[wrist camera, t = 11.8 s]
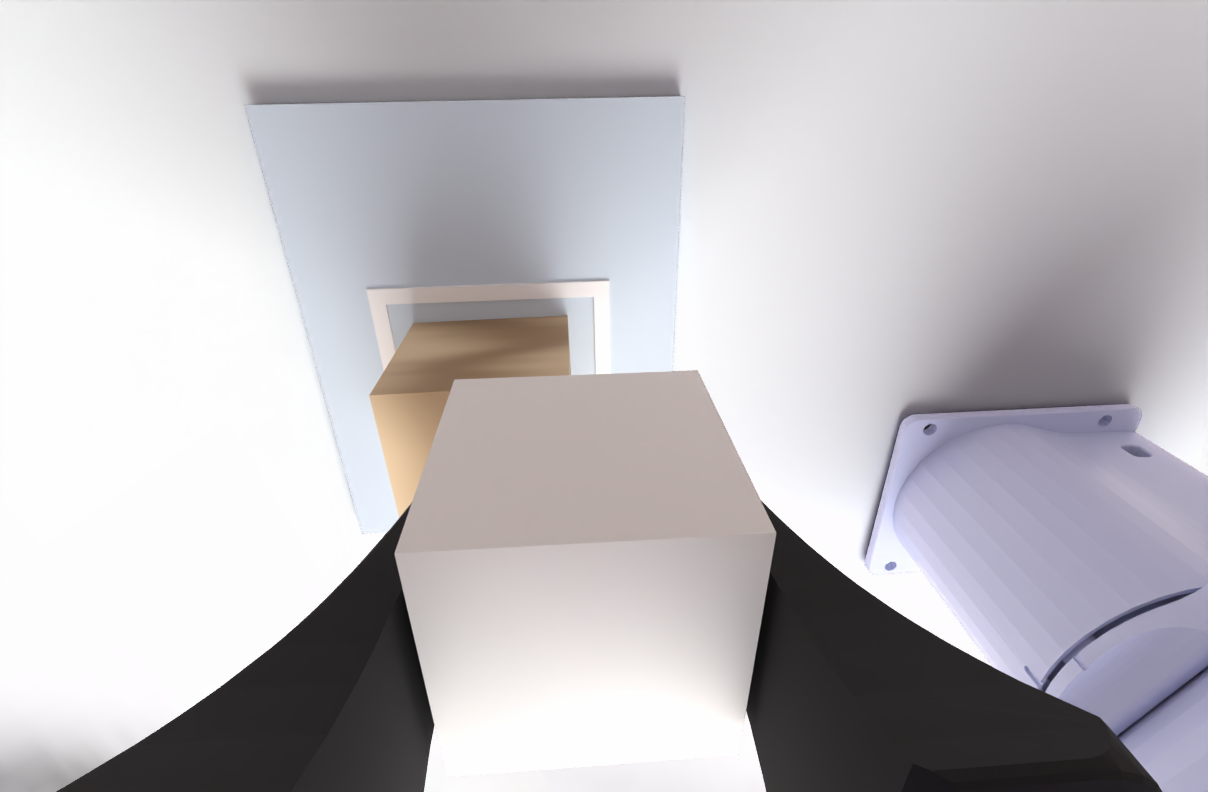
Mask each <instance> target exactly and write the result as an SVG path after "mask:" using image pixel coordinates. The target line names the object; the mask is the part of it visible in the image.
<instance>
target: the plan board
mask: <svg viewBox="0 0 1208 792" xmlns="http://www.w3.org/2000/svg"><path fill="white" fill-rule="evenodd" d="M244 106H245V110H246V114H247V117H248V121H249V125H250V128H251V132H252V135H253V139H254V143H255V146H256V150H257V154H258V157H259V161H260V165H261V168H262V172H263V176H264V179H265V183H266V186H267V190H268V194H269V197H270V201H271V205H272V208H273V212H274V216H275V219H276V223H277V226H278V230H279V234H280V237H281V241H282V245H283V248H284V252H285V256H286V259H287V263H288V267H289V270H290V274H291V277H292V281H293V285H294V288H295V292H296V296H297V299H298V303H299V307H300V310H301V314H302V317H303V321H304V325H305V328H306V332H307V336H308V339H309V343H310V347H311V350H312V354H313V358H314V361H315V365H316V368H317V372H318V376H319V379H320V383H321V387H322V390H323V394H324V398H325V401H326V405H327V408H328V412H329V416H330V419H331V423H332V427H333V430H334V434H335V438H336V441H337V445H338V449H339V452H340V456H341V459H342V463H343V467H344V470H345V474H346V478H347V481H348V485H349V489H350V492H351V496H352V499H353V503H354V507H355V510H356V514H357V518H358V521H359V525H360V529H361V532H362V534H365V533H383V532H388V531H389V530H390V528H391V527H392V526H393V525H394V524H395V522H396V521H397V520H398V519H399V515H398V511H397V507H396V503H395V498H394V494H393V490H392V486H391V482H390V478H389V474H388V470H387V466H386V462H385V458H384V454H383V450H382V446H381V441H380V437H379V433H378V429H377V425H376V421H375V417H374V413H373V409H372V405H371V401H370V397H369V395H370V393H371V392H372V390H373V388H374V387H375V385H376V383H377V382H378V380H379V379H380V377H381V375H382V374H383V372H384V370H385V369H386V367H387V365H388V364H389V362H390V360H391V359H392V357H393V356H394V354H395V352H396V351H397V349H398V347H399V346H400V344H401V342H402V341H403V339H404V337H405V336H406V334H407V333H408V331H409V329H410V328H411V326H412V324H413V323H423V322H443V321H464V320H485V319H505V318H526V317H546V316H567V315H568V331H569V347H570V364H571V375H588V374H614V373H641V372H668V371H673V361H674V338H675V315H676V292H677V269H678V246H679V223H680V200H681V177H682V154H683V131H684V108H685V96H658V97H608V98H558V99H509V100H459V101H409V102H359V103H310V104H260V105H244Z"/></svg>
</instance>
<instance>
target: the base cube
mask: <svg viewBox="0 0 1208 792" xmlns="http://www.w3.org/2000/svg"><path fill="white" fill-rule="evenodd" d="M561 375H571V364H570V347H569V331H568V315H567V316H546V317H526V318H505V319H485V320H464V321H443V322H423V323H413V324H412V326H411V328H410V329H409V331H408V333H407V334H406V336H405V337H404V339H403V341H402V342H401V344H400V346H399V347H398V349H397V351H396V352H395V354H394V356H393V357H392V359H391V360H390V362H389V364H388V365H387V367H386V369H385V370H384V372H383V374H382V375H381V377H380V379H379V380H378V382H377V383H376V385H375V387H374V388H373V390H372V392H371V393H370V395H369V397H370V401H371V405H372V409H373V413H374V417H375V421H376V425H377V429H378V433H379V437H380V441H381V446H382V450H383V454H384V458H385V462H386V466H387V470H388V474H389V478H390V482H391V486H392V490H393V494H394V498H395V503H396V507H397V511H398V515H399V518H400V516H401V515H402V514H403V513H404V511H405V510H406V509H407V508H408V507H409V505H410V504H411V503H412V501H413V498H414V495H415V492H416V489H417V487H418V484H419V481H420V478H421V475H422V472H423V469H424V466H425V463H426V460H427V458H428V455H429V452H430V449H431V446H432V443H433V440H434V437H435V434H436V431H437V429H438V426H439V423H440V420H441V417H442V414H443V411H444V408H445V405H446V402H447V399H448V397H449V394H450V391H451V388H452V385H453V382H454V379H481V378H508V377H534V376H561Z"/></svg>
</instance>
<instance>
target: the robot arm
mask: <svg viewBox="0 0 1208 792" xmlns="http://www.w3.org/2000/svg"><path fill="white" fill-rule="evenodd" d="M1141 417H1142V412H1141V410H1140V409H1138V408H1137V407H1135V406H1133V405H1131V404H1118V405H1097V406H1077V407H1056V408H1036V409H1015V410H995V411H975V412H954V413H934V414H915V415H910V416H909V417H907V418H905V419H904V420H903V421H902V423H901V425H900V428H899V432H898V435H897V439H896V443H895V447H894V451H893V455H892V459H891V462H890V466H889V470H888V474H887V478H886V482H885V486H884V489H883V493H882V497H881V501H880V505H879V509H878V513H877V516H876V520H875V524H874V528H873V532H872V536H871V540H870V543H869V547H868V551H867V555H866V559H865V566H866V568H867V569H868V571H869V572H870V573H871V574H877V575H878V574H894V573H909V572H922V573H923V574H924V575H925V577H926V578H927V579H928V581H929V582H930V583H931V585H932V586H933V587H934V589H935V590H936V591H937V593H938V594H939V595H940V597H941V598H942V600H943V601H944V602H945V604H946V605H947V606H948V608H949V609H950V610H951V612H952V613H953V614H954V616H955V617H956V618H957V620H958V621H959V623H960V624H961V625H962V627H963V628H964V629H965V631H966V632H967V633H968V635H969V636H970V637H971V639H972V640H973V641H974V643H975V644H976V646H977V647H978V648H979V650H980V651H981V652H982V654H983V655H984V656H985V658H986V659H987V660H988V662H989V663H990V664H991V666H990V665H988V664H986V663H984V662H982V661H980V660H978V659H976V658H974V657H972V656H971V655H969V654H967V653H965V652H963V651H962V650H960V649H958V648H956V647H954V646H953V645H951V644H949V643H947V642H945V641H944V640H942V639H940V638H939V637H937V636H935V635H934V634H932V633H930V632H929V631H927V630H925V629H924V628H922V627H920V626H919V625H917V624H915V623H914V622H912V621H910V620H909V619H907V618H906V617H904V616H903V615H901V614H900V613H898V612H896V611H895V610H893V609H892V608H890V607H889V606H887V605H886V604H884V603H883V602H882V601H880V600H879V599H877V598H876V597H875V596H873V595H872V594H870V593H869V592H867V591H866V590H865V589H863V588H862V587H860V586H859V585H857V584H856V583H855V582H853V581H852V580H851V579H849V578H848V577H847V576H845V575H844V574H843V573H842V572H840V571H839V570H838V569H837V568H835V567H834V566H833V565H832V564H830V563H829V562H828V561H827V560H826V559H824V558H823V557H822V556H821V555H819V554H818V553H817V552H816V551H815V550H813V549H812V548H811V547H810V546H809V545H808V544H807V543H805V542H804V541H803V540H802V539H801V538H800V537H799V536H798V535H797V534H795V533H794V532H793V531H792V530H791V529H790V528H789V527H788V526H787V525H786V524H785V523H784V522H782V521H781V520H780V519H779V518H778V517H777V516H776V515H775V514H774V513H773V512H772V511H771V510H770V509H769V508H768V507H767V506H766V505H765V504H764V503H763V502H762V501H761V502H762V504H763V506H764V508H765V510H766V512H767V515H768V517H769V519H770V521H771V523H772V525H773V527H774V529H775V531H776V538H775V544H774V550H773V556H772V562H771V568H770V573H769V579H768V585H767V591H766V597H765V603H764V609H763V614H762V620H761V626H760V632H759V638H758V644H757V649H756V655H755V661H754V667H753V673H752V679H751V684H750V690H749V696H748V702H747V708H746V711H747V715H748V718H749V721H750V725H751V729H752V733H753V737H754V741H755V745H756V750H757V754H758V758H759V762H760V766H761V770H762V774H763V779H764V783H765V787H766V792H1208V476H1206V475H1205V474H1203V473H1202V472H1200V471H1198V470H1197V469H1195V468H1193V467H1192V466H1190V465H1188V464H1187V463H1185V462H1183V461H1182V460H1180V459H1179V458H1177V457H1175V456H1174V455H1172V454H1170V453H1169V452H1167V451H1165V450H1164V449H1162V448H1160V447H1159V446H1157V445H1155V444H1154V443H1152V442H1151V441H1149V440H1147V439H1146V438H1144V437H1142V436H1141V435H1139V434H1137V433H1136V432H1135V430H1136V428H1137V426H1138V424H1139V422H1140V420H1141ZM929 424H931V425H930V427H929V428H927V429H925V430H923V429H924V428H925V427H926V426H927V425H929ZM411 504H412V503H411ZM411 504H410V505H409V507H408V508H407V509H406V510H405V511H404V513H403V514H402V515H401V516H400V518H399V519H398V520H397V521H396V522H395V524H394V525H393V526H392V527H391V528H390V530H389V531H388V532H387V533H386V534H385V536H384V537H383V538H382V539H381V540H380V541H379V543H378V544H377V545H376V546H375V547H374V548H373V549H372V550H371V552H370V553H369V554H368V555H367V556H366V557H365V558H364V560H363V561H362V562H361V563H360V564H359V565H358V566H357V567H356V568H355V569H354V571H353V572H352V573H351V574H350V575H349V576H348V577H347V578H346V579H345V580H344V581H343V582H342V583H341V584H340V585H339V586H338V587H337V588H336V589H335V590H334V591H333V592H332V593H331V594H330V595H329V596H328V597H327V598H326V599H325V600H324V601H323V602H322V603H321V604H320V605H319V606H318V607H317V608H316V609H315V610H314V611H313V612H312V613H311V614H310V615H308V616H307V617H306V618H305V619H304V620H303V621H302V622H301V623H300V624H299V625H297V626H296V627H295V628H294V629H293V630H292V631H291V632H289V633H288V634H287V635H286V636H285V637H284V638H283V639H281V640H280V641H279V642H278V643H277V644H275V645H274V646H273V647H272V648H270V649H269V650H268V651H267V652H265V653H264V654H263V655H261V656H260V657H259V658H258V659H256V660H255V661H254V662H252V663H251V664H250V665H248V666H247V667H246V668H245V669H243V670H242V671H241V672H239V673H238V674H237V675H236V676H234V677H233V678H232V679H230V680H229V681H228V682H226V683H225V684H224V685H223V686H221V687H220V688H218V689H217V690H216V691H214V692H213V693H211V694H210V695H209V696H207V697H206V698H204V699H203V700H201V701H200V702H199V703H197V704H196V705H194V706H193V707H192V708H190V709H189V710H187V711H186V712H184V713H183V714H181V715H180V716H178V717H177V718H175V719H174V720H172V721H171V722H169V723H168V724H166V725H165V726H163V727H162V728H160V729H159V730H157V731H156V732H154V733H153V734H151V735H149V736H148V737H146V738H145V739H143V740H142V741H140V742H138V743H137V744H135V745H134V746H132V747H130V748H129V749H127V750H125V751H124V752H122V753H120V754H119V755H117V756H115V757H114V758H112V759H110V760H109V761H107V762H105V763H104V764H102V765H100V766H99V767H97V768H95V769H94V770H92V771H90V772H89V773H87V774H85V775H84V776H82V777H80V778H79V779H77V780H75V781H74V782H72V783H70V784H69V785H67V786H65V787H64V788H62V789H60V790H58V791H57V792H424V786H425V779H426V772H427V765H428V758H429V751H430V744H431V739H432V734H433V729H434V721H433V717H432V712H431V708H430V704H429V699H428V695H427V691H426V687H425V682H424V678H423V674H422V670H421V665H420V661H419V657H418V652H417V648H416V644H415V640H414V635H413V631H412V627H411V623H410V618H409V614H408V610H407V606H406V601H405V597H404V593H403V588H402V584H401V580H400V576H399V571H398V567H397V563H396V559H395V554H394V553H395V550H396V547H397V545H398V542H399V539H400V536H401V533H402V530H403V527H404V524H405V521H406V518H407V516H408V513H409V510H410V507H411ZM887 563H888V564H887Z"/></svg>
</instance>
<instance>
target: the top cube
mask: <svg viewBox="0 0 1208 792" xmlns="http://www.w3.org/2000/svg"><path fill="white" fill-rule="evenodd" d="M775 538H776V531H775V529H774V527H773V525H772V523H771V521H770V519H769V517H768V515H767V512H766V510H765V508H764V506H763V504H762V502H761V500H760V498H759V496H758V494H757V492H756V490H755V488H754V486H753V484H752V482H751V479H750V477H749V475H748V473H747V471H746V469H745V467H744V465H743V463H742V461H741V459H740V457H739V455H738V453H737V451H736V449H735V447H734V444H733V442H732V440H731V438H730V436H729V434H728V432H727V430H726V428H725V426H724V424H723V422H722V420H721V418H720V416H719V414H718V412H717V409H716V407H715V405H714V403H713V401H712V399H711V397H710V395H709V393H708V391H707V389H706V387H705V385H704V383H703V381H702V379H701V377H700V374H699V372H698V370H694V371H668V372H641V373H614V374H588V375H561V376H534V377H508V378H481V379H454V382H453V385H452V388H451V391H450V394H449V397H448V399H447V402H446V405H445V408H444V411H443V414H442V417H441V420H440V423H439V426H438V429H437V431H436V434H435V437H434V440H433V443H432V446H431V449H430V452H429V455H428V458H427V460H426V463H425V466H424V469H423V472H422V475H421V478H420V481H419V484H418V487H417V489H416V492H415V495H414V498H413V501H412V504H411V507H410V510H409V513H408V516H407V518H406V521H405V524H404V527H403V530H402V533H401V536H400V539H399V542H398V545H397V547H396V550H395V553H394V554H395V559H396V563H397V567H398V571H399V576H400V580H401V584H402V588H403V593H404V597H405V601H406V606H407V610H408V614H409V618H410V623H411V627H412V631H413V635H414V640H415V644H416V648H417V652H418V657H419V661H420V665H421V670H422V674H423V678H424V682H425V687H426V691H427V695H428V699H429V704H430V708H431V712H432V717H433V721H434V725H435V729H436V734H437V738H438V742H439V746H440V751H441V755H442V759H443V764H444V768H445V772H446V776H447V777H455V776H468V775H481V774H494V773H507V772H520V771H533V770H546V769H559V768H573V767H586V766H599V765H612V764H625V763H638V762H651V761H664V760H677V759H690V758H703V757H716V756H729V755H739V749H740V743H741V737H742V731H743V725H744V720H745V714H746V708H747V702H748V696H749V690H750V684H751V679H752V673H753V667H754V661H755V655H756V649H757V644H758V638H759V632H760V626H761V620H762V614H763V609H764V603H765V597H766V591H767V585H768V579H769V573H770V568H771V562H772V556H773V550H774V544H775Z"/></svg>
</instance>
